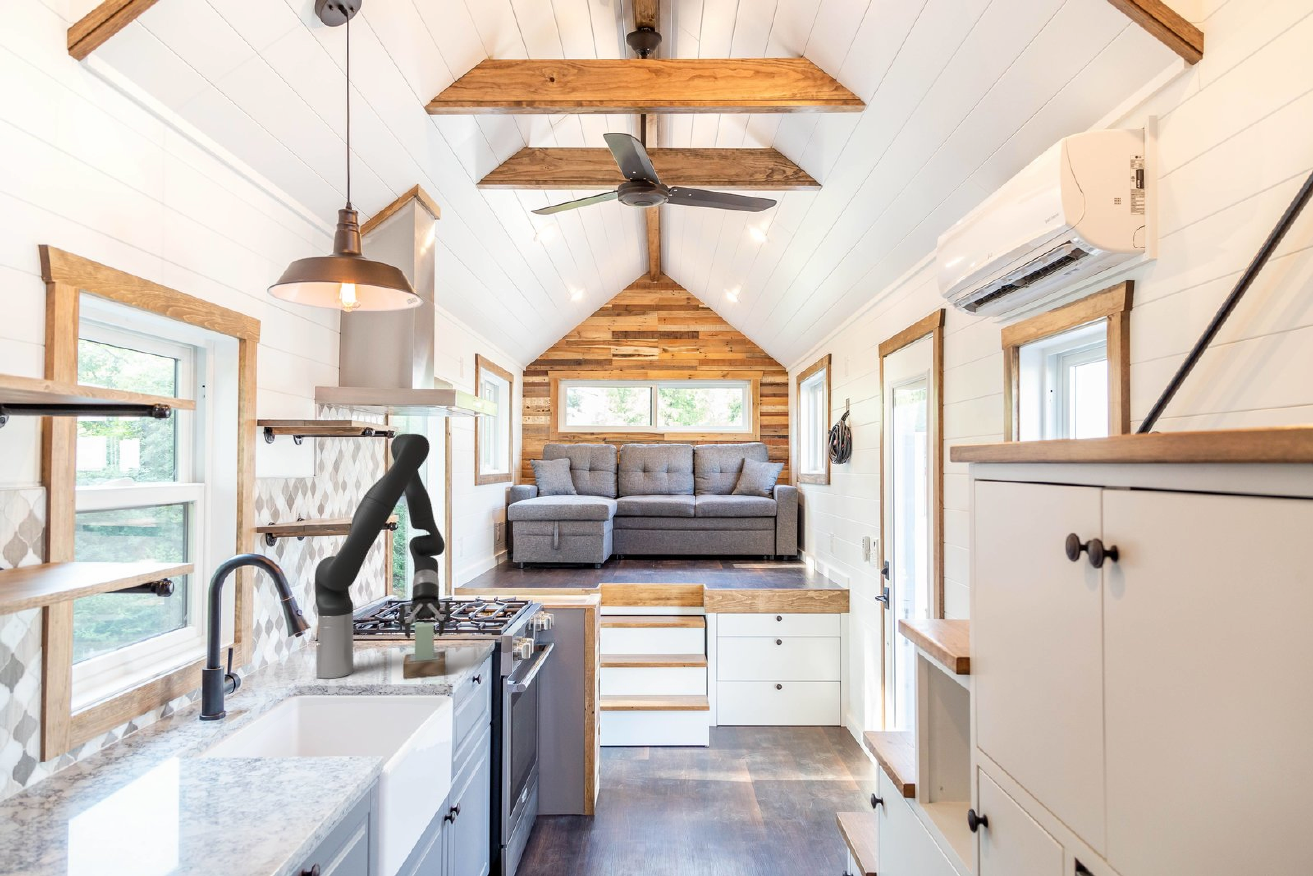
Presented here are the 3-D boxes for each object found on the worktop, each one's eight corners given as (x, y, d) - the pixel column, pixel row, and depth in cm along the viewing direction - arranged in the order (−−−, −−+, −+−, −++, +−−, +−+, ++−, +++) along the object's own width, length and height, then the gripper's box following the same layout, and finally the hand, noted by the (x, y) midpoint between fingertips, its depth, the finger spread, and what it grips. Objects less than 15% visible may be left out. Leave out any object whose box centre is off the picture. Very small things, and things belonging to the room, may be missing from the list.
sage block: (415, 659, 201) (414, 627, 202) (415, 655, 206) (415, 623, 206) (433, 657, 203) (433, 625, 203) (433, 653, 208) (433, 622, 208)
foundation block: (403, 679, 198) (403, 663, 198) (405, 668, 208) (405, 653, 208) (444, 675, 200) (444, 659, 201) (445, 664, 211) (445, 650, 211)
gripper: (399, 582, 210) (397, 630, 199) (450, 579, 214) (450, 626, 203) (401, 597, 215) (398, 645, 204) (450, 594, 219) (450, 641, 208)
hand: (424, 635), depth 203 cm, fingers open, 8 cm apart
